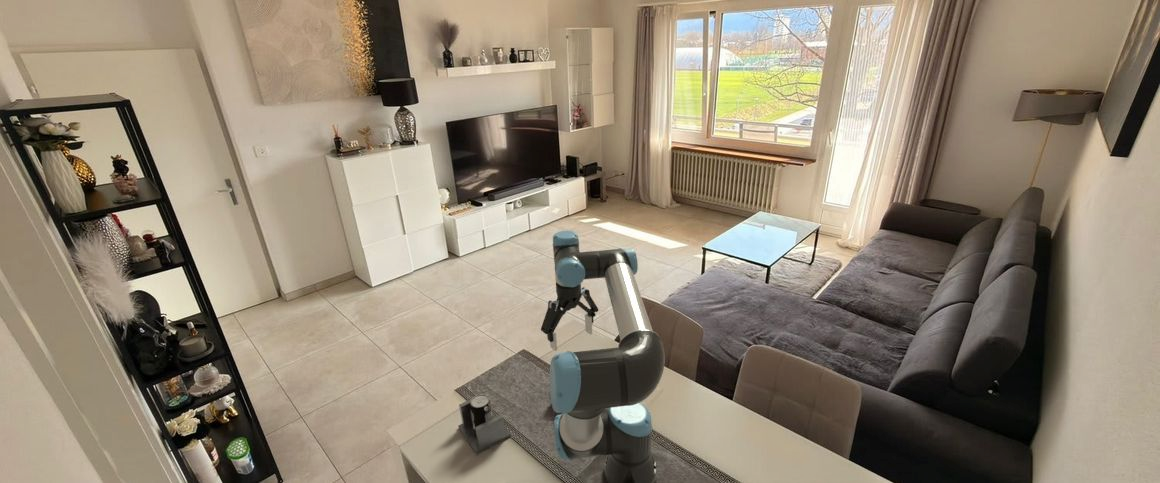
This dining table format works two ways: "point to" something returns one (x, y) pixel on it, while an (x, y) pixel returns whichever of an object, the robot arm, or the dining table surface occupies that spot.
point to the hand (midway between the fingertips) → (571, 340)
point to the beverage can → (480, 410)
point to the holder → (482, 429)
